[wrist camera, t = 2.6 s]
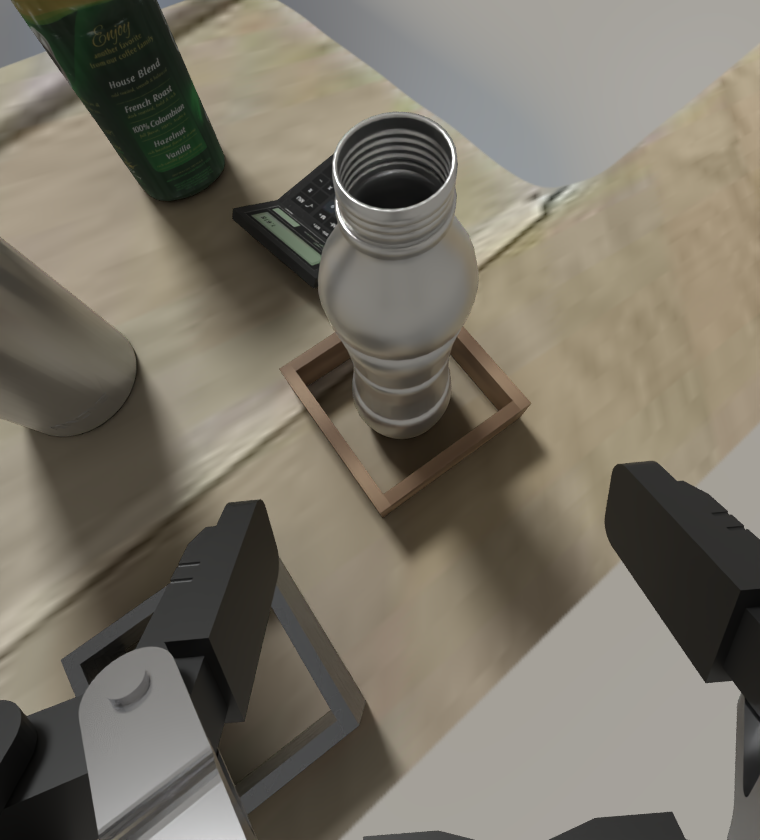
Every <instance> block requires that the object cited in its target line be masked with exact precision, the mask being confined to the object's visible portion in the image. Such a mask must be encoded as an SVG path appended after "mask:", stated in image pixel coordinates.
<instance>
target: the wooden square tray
mask: <svg viewBox="0 0 760 840" xmlns="http://www.w3.org/2000/svg"><path fill="white" fill-rule="evenodd" d="M450 354H451V355H452V356H453V358H454V359H455V360H456V361H457V362H458V363H459V365H460V366H461V367H462V368H463V369H464V370H465V372H466V373H467V374H468V375H469V376H470V377H471V379H472V380H473V381H474V382H475V383H476V384H477V386H478V387H479V388H480V389H481V390H482V391H483V393H484V394H485V395H486V396H487V397H488V398H489V400H490V401H491V402H492V403H493V404H494V405H495V407H496V408H497V409H498V410H499V411H498V412H497V413H495V414H494V415H492V416H491V417H490V418H488V419H487V420H485V421H484V422H483V423H481V424H480V425H479V426H477V427H476V428H474V429H473V430H472V431H470V432H469V433H468V434H466V435H465V436H463V437H462V438H461V439H459V440H458V441H456V442H455V443H454V444H452V445H451V446H450V447H448V448H447V449H445V450H444V451H443V452H441V453H440V454H438V455H437V456H436V457H434V458H433V459H432V460H430V461H429V462H427V463H426V464H425V465H423V466H422V467H420V468H419V469H418V470H416V471H415V472H414V473H412V474H411V475H409V476H408V477H407V478H405V479H404V480H402V481H401V482H400V483H398V484H397V485H396V486H394V487H393V488H391V489H390V490H389V491H387V492H386V493H384V494H383V493H382V492H381V490H380V489H379V488H378V486H377V485H376V483H375V482H374V481H373V479H372V478H371V476H370V475H369V474H368V472H367V471H366V469H365V468H364V467H363V465H362V464H361V462H360V461H359V460H358V458H357V457H356V455H355V454H354V452H353V451H352V450H351V448H350V447H349V445H348V444H347V443H346V441H345V440H344V438H343V437H342V436H341V434H340V433H339V431H338V430H337V429H336V427H335V426H334V424H333V423H332V422H331V420H330V419H329V417H328V416H327V415H326V413H325V412H324V410H323V409H322V408H321V406H320V405H319V403H318V402H317V401H316V399H315V398H314V396H313V395H312V394H311V392H310V391H309V389H308V388H307V386H309V385H310V384H312V383H313V382H315V381H316V380H318V379H319V378H321V377H322V376H324V375H326V374H327V373H329V372H330V371H332V370H333V369H335V368H336V367H338V366H339V365H341V364H342V363H344V362H345V361H347V360H348V359H350V355H349V353H348V350H347V349H346V347H345V346H344V344H343V343H342V341H341V340H340V338H339V337H338V335H337V334H336V332H335V333H333V334H332V335H330V336H329V337H327V338H326V339H324V340H323V341H321V342H319V343H318V344H316V345H315V346H313V347H312V348H310V349H309V350H307V351H306V352H304V353H303V354H301V355H300V356H298V357H297V358H295V359H293V360H292V361H290V362H289V363H287V364H286V365H284V366H283V367H281V368H280V369H279V370H280V371H281V373H282V374H283V376H284V377H285V379H286V380H287V382H288V383H289V385H290V386H291V387H292V389H293V390H294V392H295V393H296V395H297V396H298V397H299V399H300V400H301V402H302V403H303V405H304V406H305V407H306V409H307V410H308V412H309V413H310V415H311V416H312V417H313V419H314V420H315V422H316V423H317V425H318V426H319V427H320V429H321V430H322V432H323V433H324V435H325V436H326V437H327V439H328V440H329V442H330V443H331V445H332V446H333V447H334V449H335V450H336V452H337V453H338V455H339V456H340V457H341V459H342V460H343V462H344V463H345V465H346V466H347V467H348V469H349V470H350V472H351V473H352V475H353V476H354V478H355V479H356V480H357V482H358V483H359V485H360V486H361V488H362V489H363V490H364V492H365V493H366V495H367V496H368V498H369V499H370V500H371V502H372V503H373V505H374V506H375V508H376V509H377V510H378V512H379V513H380V515H381V516H382V518H383V517H385V516H386V515H387V514H389V513H390V512H392V511H393V510H394V509H396V508H397V507H398V506H400V505H401V504H403V503H404V502H405V501H407V500H408V499H409V498H411V497H412V496H413V495H415V494H416V493H418V492H419V491H420V490H422V489H423V488H424V487H426V486H427V485H429V484H430V483H431V482H433V481H434V480H435V479H437V478H438V477H439V476H441V475H442V474H444V473H445V472H446V471H448V470H449V469H450V468H452V467H453V466H455V465H456V464H457V463H459V462H460V461H461V460H463V459H464V458H465V457H467V456H468V455H470V454H471V453H472V452H474V451H475V450H476V449H478V448H479V447H481V446H482V445H483V444H485V443H486V442H487V441H489V440H490V439H491V438H493V437H494V436H496V435H497V434H498V433H500V432H501V431H502V430H504V429H505V428H506V427H508V426H509V425H511V424H512V423H513V422H515V421H516V420H517V419H519V418H520V417H521V416H522V414H523V413H524V412H525V411H526V409H527V408H528V407H529V405H530V404H531V402H530V401H529V400H528V399H527V398H526V397H525V395H524V394H523V393H522V392H521V391H520V390H519V389H518V388H517V386H516V385H515V384H514V383H513V382H512V381H511V380H510V379H509V377H508V376H507V375H506V374H505V373H504V372H503V371H502V370H501V368H500V367H499V366H498V365H497V364H496V363H495V362H494V361H493V359H492V358H491V357H490V356H489V355H488V354H487V353H486V352H485V350H484V349H483V348H482V347H481V346H480V345H479V344H478V343H477V341H476V340H475V339H474V338H473V337H472V336H471V335H470V334H469V332H468V331H467V330H466V329H465V328H464V327H462V328H461V330H460V332H459V334H458V336H457V337H456V339H455V341H454V343H453V346H452V349H451V352H450Z"/></svg>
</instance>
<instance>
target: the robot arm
mask: <svg viewBox="0 0 760 840" xmlns="http://www.w3.org/2000/svg"><path fill="white" fill-rule="evenodd" d="M135 376H136V357H135V354H134V350H133V348H132V346H131V344H130V343H129V341H128V339H127V338H126V337H124V336H123V335H122V334H121V333H120V332H119V331H118V330H117V329H115V328H114V327H113V326H112V325H110V324H109V323H108V322H107V321H105V320H104V319H103V318H102V317H100V316H99V315H98V314H97V313H95V312H94V311H93V310H92V309H90V308H89V307H88V306H87V305H86V304H84V303H83V302H82V301H81V300H79V299H78V298H77V297H76V296H74V295H73V294H72V293H70V292H69V291H68V290H67V289H65V288H64V287H63V286H62V285H60V284H59V283H58V282H57V281H55V280H54V279H53V278H52V277H50V276H49V275H48V274H47V273H45V272H44V271H43V270H41V269H40V268H39V267H38V266H36V265H35V264H34V263H33V262H31V261H30V260H29V259H28V258H26V257H25V256H24V255H23V254H21V253H20V252H19V251H18V250H16V249H15V248H14V247H13V246H11V245H10V244H9V243H7V242H6V241H5V240H4V239H2V238H1V237H0V418H1V419H4V420H7V421H10V422H13V423H16V424H18V425H21V426H24V427H27V428H30V429H33V430H36V431H39V432H42V433H45V434H47V435H51V436H60V437H64V436H74V435H78V434H81V433H85V432H88V431H90V430H92V429H94V428H96V427H98V426H100V425H101V424H103V423H104V422H105V421H107V420H108V419H109V418H111V417H112V416H113V415H114V414H115V413H116V412H117V411H118V410H119V409H120V407H121V406H122V405H123V404H124V402H125V400H126V399H127V397H128V396H129V394H130V392H131V389H132V387H133V384H134V381H135ZM605 529H606V534H607V537H608V540H609V542H610V544H611V546H612V547H613V549H614V550H615V552H616V553H617V554H618V556H619V557H620V559H621V560H622V562H623V563H624V564H625V566H626V568H627V569H628V571H629V572H630V573H631V575H632V576H633V578H634V579H635V581H636V582H637V584H638V585H639V587H640V588H641V589H642V591H643V592H644V594H645V595H646V597H647V598H648V600H649V601H650V602H651V604H652V605H653V607H654V608H655V610H656V611H657V613H658V614H659V615H660V617H661V619H662V620H663V622H664V623H665V624H666V626H667V627H668V629H669V630H670V632H671V633H672V635H673V636H674V637H675V639H676V640H677V642H678V643H679V645H680V646H681V648H682V649H683V651H684V652H685V654H686V655H687V657H688V658H689V659H690V661H691V662H692V664H693V665H694V667H695V668H696V670H697V671H698V673H699V674H700V676H701V677H702V678H703V680H704V681H705V683H713V682H724V681H733V682H734V683H735V685H736V686H737V687H738V689H739V690H740V691H741V695H740V697H739V700H738V704H737V729H736V731H737V732H736V761H735V792H734V793H735V794H734V810H733V816H732V821H731V826H730V829H729V833H728V837H727V840H760V539H758V538H757V537H756V536H755V535H754V534H753V533H752V532H750V531H749V530H748V529H746V530H745V529H744V525H743V524H741V523H740V522H739V521H738V520H737V519H736V518H735V517H734V516H733V515H729V514H728V511H727V510H726V509H725V508H724V507H723V506H721V505H720V504H719V503H718V502H717V501H716V500H714V498H712V497H711V496H710V495H709V494H707V493H705V492H704V491H702V490H699V489H698V488H696V487H694V486H692V485H690V484H688V483H686V482H684V481H676V480H675V479H674V478H673V477H672V476H671V475H670V474H669V473H668V472H667V471H666V470H665V469H664V468H663V467H662V466H661V465H659V464H658V463H657V462H655V461H645V462H635V463H625V464H617V465H616V466H615V467H614V468H613V471H612V476H611V482H610V488H609V494H608V500H607V507H606V513H605ZM278 573H279V556H278V550H277V546H276V542H275V539H274V535H273V531H272V528H271V524H270V521H269V517H268V514H267V510H266V507H265V504H264V502H263V501H262V500H261V499H260V500H250V501H240V502H230V503H227V505H226V506H225V508H224V510H223V512H222V515H221V517H220V519H219V521H218V523H217V526H213V527H205V528H204V529H203V530H202V531H201V532H200V533H199V534H198V535H197V536H196V537H195V538H194V539H193V540H192V541H191V542H190V543H189V544H188V546H187V548H186V550H185V552H184V554H183V556H182V558H181V560H180V562H179V567H177V568H176V570H175V572H174V574H173V576H172V578H171V583H170V584H168V586H167V588H166V589H165V591H164V593H163V595H162V597H161V599H160V601H159V603H158V605H157V607H156V609H155V611H154V613H153V615H152V617H151V619H150V621H149V623H148V625H147V627H146V629H145V631H144V633H143V635H142V637H141V639H140V641H139V643H138V645H137V647H136V649H135V650H133V651H131V652H128V653H126V654H124V655H122V656H121V657H119V658H117V659H116V660H114V661H113V662H111V663H110V664H109V665H108V666H106V667H105V668H104V669H103V670H102V671H101V672H100V673H99V674H98V675H97V676H96V677H95V679H94V680H93V681H92V682H91V684H90V685H89V687H88V688H87V690H86V691H85V693H84V694H82V695H80V696H78V697H75V698H73V699H70V700H68V701H65V702H62V703H60V704H57V705H55V706H52V707H49V708H47V709H44V710H42V711H39V712H36V713H34V714H31V715H29V716H26V715H25V714H24V713H23V712H22V711H21V709H20V708H19V707H18V706H17V705H16V704H15V703H13V702H11V701H6V700H0V840H97V839H99V840H258V838H257V836H256V834H255V831H254V829H253V827H252V824H251V822H250V820H249V817H248V815H247V813H246V810H245V808H244V806H243V803H242V801H241V799H240V796H239V794H238V792H237V790H236V787H235V785H234V783H233V780H232V778H231V776H230V773H229V771H228V769H227V766H226V764H225V762H224V759H223V757H222V755H221V752H220V750H219V748H218V745H219V741H220V737H221V733H222V730H223V726H224V723H233V722H244V721H245V717H246V712H247V708H248V704H249V699H250V695H251V691H252V687H253V682H254V678H255V674H256V669H257V665H258V661H259V656H260V652H261V648H262V643H263V639H264V635H265V630H266V626H267V622H268V617H269V613H270V609H271V605H272V600H273V596H274V592H275V587H276V583H277V579H278ZM363 840H473V839H469V838H465V837H461V836H457V835H454V834H449V833H446V832H441V831H427V832H415V833H402V834H390V835H377V836H366V837H363ZM549 840H686V839H685V837H684V835H683V833H682V831H681V829H680V827H679V825H678V823H677V821H676V819H675V817H674V815H673V813H672V812H664V813H652V814H638V815H626V816H614V817H601V818H594V819H592V820H590V821H588V822H586V823H583V824H582V825H579V826H577V827H575V828H573V829H571V830H569V831H566V832H564V833H562V834H560V835H558V836H556V837H554V838H552V839H549Z"/></svg>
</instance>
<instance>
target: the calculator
mask: <svg viewBox="0 0 760 840" xmlns="http://www.w3.org/2000/svg"><path fill="white" fill-rule="evenodd" d="M333 156H334V154H333V155H331V156H330V157H329V158H328V159H327V160H325V161H324V162H323V163H322V164H321V165H319V166H318V167H317V168H316V169H314V170H313V171H312V172H311V173H310V174H308V175H307V176H306V177H305V178H304V179H302V180H301V181H300V182H299V183H297V184H296V185H295V186H294V187H293V188H291V189H290V190H289V191H288V192H286V193H285V194H284V195H283V196H282V197H280V198H279V199H278V200H275V201H270V202H265V203H260V204H255V205H249V206H244V207H239V208H234V209H233V218H232V219H233V220H234V221H235V222H236V223H238V224H239V225H240V226H241V227H242V228H243V229H245V230H246V231H247V232H248V233H249V234H250V235H252V236H253V237H254V238H255V239H256V240H257V241H259V242H260V243H261V244H262V245H263V246H264V247H266V248H267V249H268V250H269V251H270V252H272V253H273V254H274V255H275V256H276V257H277V258H279V259H280V260H281V261H282V262H283V263H284V264H286V265H287V266H288V267H289V268H290V269H291V270H293V271H294V272H295V273H296V274H297V275H298V276H300V277H301V278H302V279H303V280H304V281H305V282H307V283H308V284H309V285H310V286H311V287H312V288H316V287H318V274H319V267H320V261H321V255H322V251H323V248H324V246H325V244H326V241H327V239H328V237H329V236H330V234H331V233H332V231H333V230H334V228H335V227H336V225H337V224H338V222H337V217H336V212H335V197H336V194H335V189H334V184H333V178H332V161H333Z"/></svg>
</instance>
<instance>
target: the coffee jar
mask: <svg viewBox="0 0 760 840" xmlns="http://www.w3.org/2000/svg"><path fill="white" fill-rule="evenodd" d="M11 1H12V3H13V4H14V6H15V7H16V8H17V10H18V11H19V13H20V14H21V16H22V17H23V18H24V20H25V21H26V23H27V24H28V26H29V27H30V29H31V30H32V31H33V33H34V34H35V36H36V37H37V38H38V40H39V41H40V43H41V44H42V45H43V47H44V48H45V50H46V51H47V53H48V54H49V56H50V57H51V59H52V60H53V62H54V63H55V64H56V66H57V67H58V69H59V70H60V71H61V73H62V74H63V76H64V77H65V78H66V80H67V81H68V83H69V84H70V86H71V87H72V88H73V90H74V91H75V93H76V94H77V96H78V97H79V98H80V100H81V101H82V103H83V104H84V105H85V107H86V108H87V110H88V111H89V112H90V114H91V115H92V117H93V118H94V119H95V121H96V122H97V124H98V125H99V127H100V128H101V129H102V131H103V132H104V134H105V135H106V137H107V138H108V140H109V141H110V143H111V144H112V146H113V147H114V149H115V150H116V152H117V153H118V155H119V156H120V158H121V159H122V160H123V162H124V163H125V165H126V166H127V167H128V169H129V170H130V172H131V173H132V174H133V176H134V177H135V179H136V180H137V181H138V183H139V184H140V186H141V187H142V188H143V189H144V190H145V192H146V193H147V194H149V195H150V196H151V197H153V198H155V199H157V200H163V201H172V200H177V199H182V198H186V197H189V196H192V195H194V194H197V193H199V192H200V191H202V190H204V189H205V188H207V187H208V186H209V185H210V184H211V183H212V182H214V181H215V180H216V179H217V178H218V177H219V175H220V174H221V172H222V171H223V169H224V164H225V159H224V154H223V151H222V149H221V147H220V144H219V142H218V139H217V137H216V135H215V132H214V130H213V128H212V125H211V123H210V121H209V118H208V116H207V114H206V112H205V109H204V107H203V105H202V103H201V100H200V98H199V96H198V94H197V92H196V89H195V87H194V85H193V82H192V80H191V78H190V75H189V73H188V71H187V68H186V66H185V64H184V61H183V59H182V57H181V54H180V52H179V50H178V47H177V45H176V43H175V40H174V38H173V35H172V33H171V31H170V29H169V27H168V24H167V22H166V20H165V17H164V15H163V13H162V11H161V9H160V6H159V4H158V2H157V0H11Z"/></svg>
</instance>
